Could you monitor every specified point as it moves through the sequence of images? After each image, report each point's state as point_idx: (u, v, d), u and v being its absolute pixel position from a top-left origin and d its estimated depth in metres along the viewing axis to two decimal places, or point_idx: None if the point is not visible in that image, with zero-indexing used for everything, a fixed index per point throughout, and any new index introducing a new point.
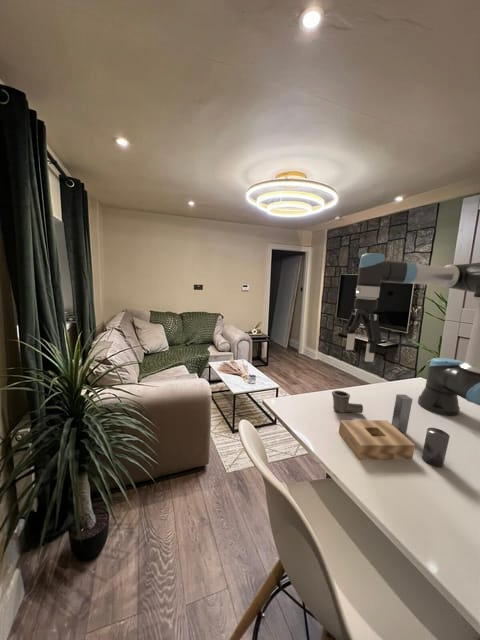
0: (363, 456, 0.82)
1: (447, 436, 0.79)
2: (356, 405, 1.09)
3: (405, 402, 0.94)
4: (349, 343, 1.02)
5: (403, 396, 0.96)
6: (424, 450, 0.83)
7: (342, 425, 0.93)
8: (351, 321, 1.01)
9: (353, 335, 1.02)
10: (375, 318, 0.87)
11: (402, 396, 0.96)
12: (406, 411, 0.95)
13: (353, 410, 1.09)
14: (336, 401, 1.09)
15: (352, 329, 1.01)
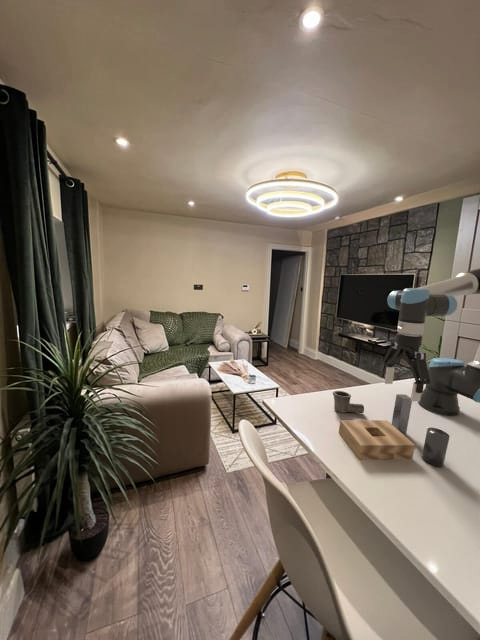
0: (363, 456, 0.82)
1: (447, 436, 0.79)
2: (357, 405, 1.09)
3: (405, 401, 0.94)
4: (389, 377, 0.99)
5: (403, 396, 0.96)
6: (424, 450, 0.83)
7: (342, 425, 0.93)
8: (390, 354, 0.98)
9: (392, 369, 0.98)
10: (422, 357, 0.83)
11: (402, 396, 0.96)
12: (406, 411, 0.95)
13: (354, 410, 1.09)
14: (337, 401, 1.09)
15: (392, 363, 0.97)
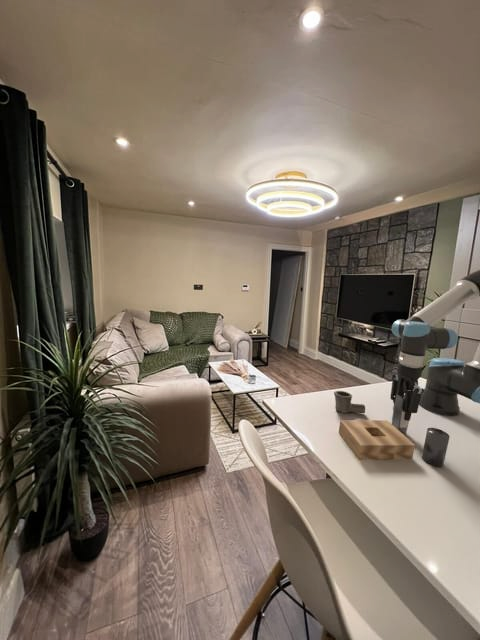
0: (363, 456, 0.82)
1: (447, 436, 0.79)
2: (358, 405, 1.08)
3: None
4: None
5: (403, 396, 0.96)
6: (424, 450, 0.83)
7: (342, 425, 0.93)
8: (395, 388, 1.00)
9: None
10: (419, 393, 0.89)
11: (402, 396, 0.96)
12: None
13: (355, 410, 1.08)
14: (338, 401, 1.09)
15: None
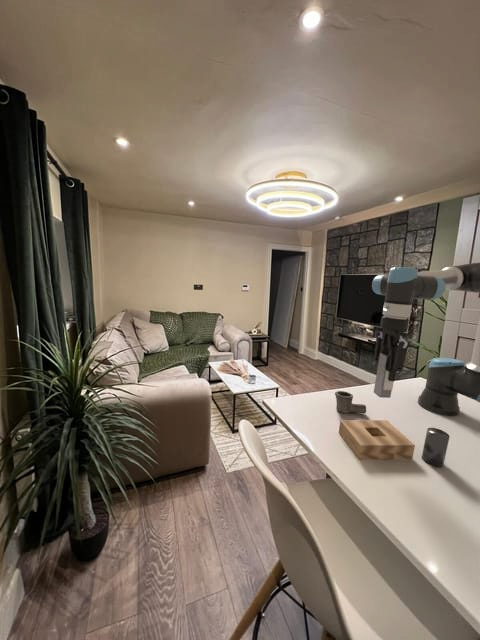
0: (363, 456, 0.82)
1: (447, 436, 0.79)
2: (359, 406, 1.08)
3: None
4: None
5: (387, 354, 0.84)
6: (424, 450, 0.83)
7: (342, 425, 0.93)
8: (379, 347, 0.88)
9: None
10: (404, 346, 0.77)
11: (386, 354, 0.84)
12: None
13: (356, 410, 1.08)
14: (339, 401, 1.09)
15: None
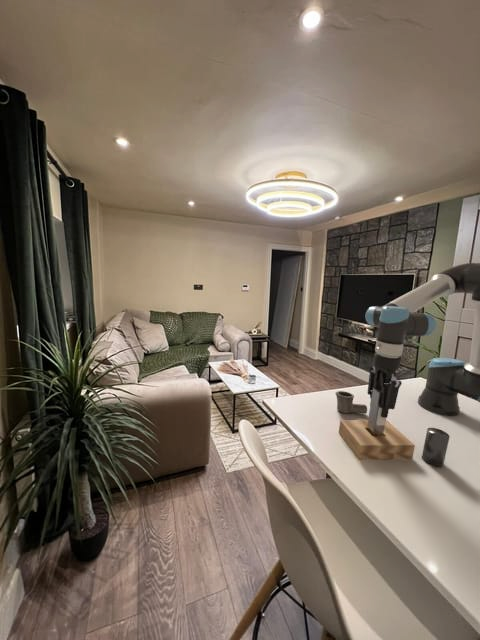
0: (363, 456, 0.82)
1: (447, 436, 0.79)
2: (360, 406, 1.08)
3: None
4: None
5: (380, 390, 0.86)
6: (424, 450, 0.83)
7: (342, 425, 0.93)
8: (372, 381, 0.90)
9: None
10: (396, 386, 0.79)
11: (379, 390, 0.86)
12: None
13: (357, 410, 1.08)
14: (340, 402, 1.09)
15: None
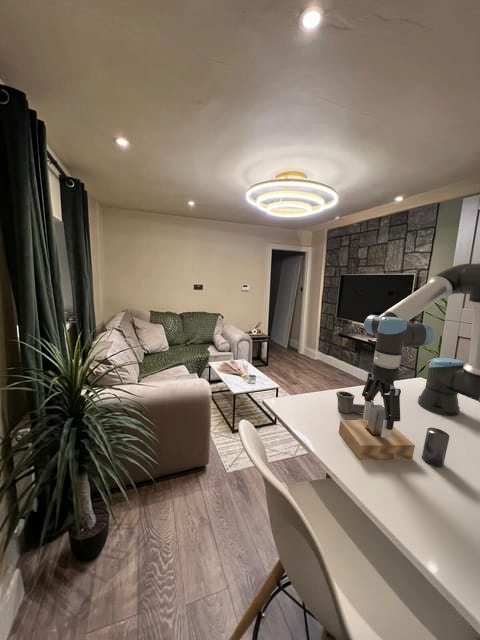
0: (363, 456, 0.82)
1: (447, 436, 0.79)
2: (361, 406, 1.08)
3: (379, 413, 0.85)
4: (367, 412, 0.92)
5: (377, 407, 0.87)
6: (424, 450, 0.83)
7: (342, 425, 0.93)
8: (368, 386, 0.92)
9: (371, 403, 0.92)
10: (396, 394, 0.79)
11: (376, 407, 0.87)
12: (381, 424, 0.86)
13: (357, 410, 1.08)
14: (341, 402, 1.09)
15: (370, 396, 0.91)
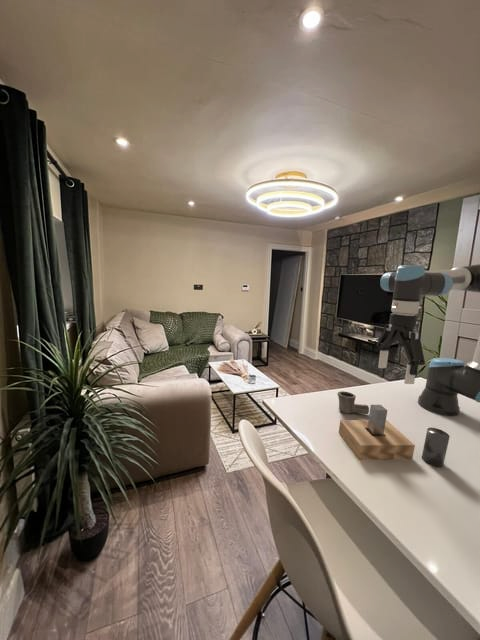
0: (363, 456, 0.82)
1: (447, 436, 0.79)
2: (362, 406, 1.08)
3: (379, 413, 0.85)
4: (382, 361, 0.94)
5: (377, 407, 0.87)
6: (424, 450, 0.83)
7: (342, 425, 0.93)
8: (384, 337, 0.93)
9: (386, 352, 0.94)
10: (416, 337, 0.79)
11: (376, 407, 0.87)
12: (381, 424, 0.86)
13: (358, 411, 1.08)
14: (342, 402, 1.09)
15: (385, 346, 0.93)
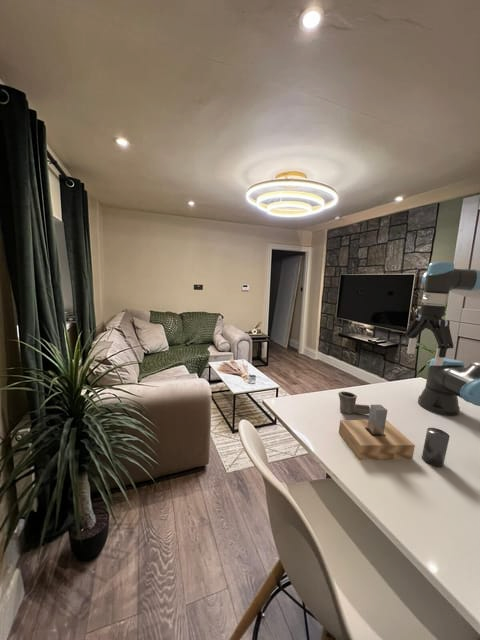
0: (363, 456, 0.82)
1: (447, 436, 0.79)
2: (363, 406, 1.08)
3: (379, 413, 0.85)
4: (411, 347, 1.06)
5: (377, 407, 0.87)
6: (424, 450, 0.83)
7: (342, 425, 0.93)
8: (413, 326, 1.05)
9: (415, 339, 1.06)
10: (446, 324, 0.91)
11: (376, 407, 0.87)
12: (381, 424, 0.86)
13: (359, 411, 1.08)
14: (343, 402, 1.09)
15: (414, 334, 1.05)
